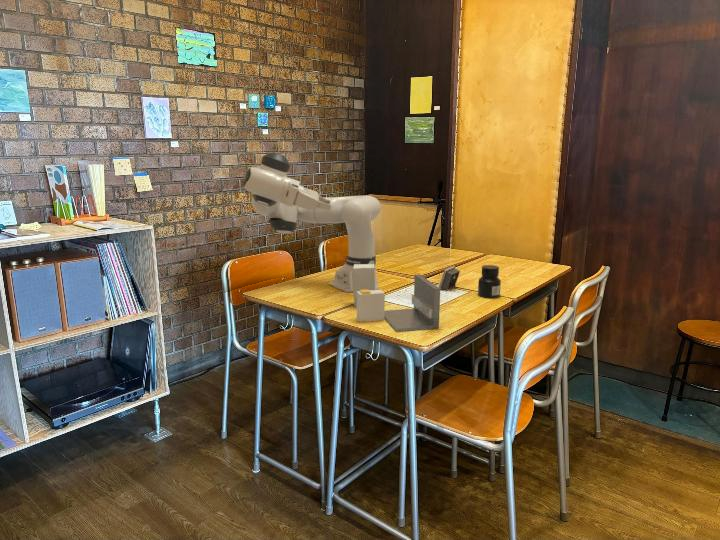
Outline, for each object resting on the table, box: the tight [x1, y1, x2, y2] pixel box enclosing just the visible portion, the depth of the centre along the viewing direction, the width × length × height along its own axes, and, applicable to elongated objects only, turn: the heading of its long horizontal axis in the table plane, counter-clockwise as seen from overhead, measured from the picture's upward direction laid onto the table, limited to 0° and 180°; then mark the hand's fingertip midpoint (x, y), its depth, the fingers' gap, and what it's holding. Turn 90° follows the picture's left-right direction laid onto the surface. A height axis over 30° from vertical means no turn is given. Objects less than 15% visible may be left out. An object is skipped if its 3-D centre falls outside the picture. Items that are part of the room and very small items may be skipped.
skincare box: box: [353, 264, 376, 308], centre depth 210 cm, size 8×7×16 cm
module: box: [356, 289, 386, 323], centre depth 194 cm, size 9×4×11 cm, turn 104°
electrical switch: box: [438, 265, 461, 291], centre depth 234 cm, size 9×5×9 cm, turn 145°
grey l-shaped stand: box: [384, 273, 441, 333], centre depth 192 cm, size 15×20×14 cm
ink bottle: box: [477, 264, 502, 299], centre depth 224 cm, size 10×9×12 cm
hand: (330, 205), depth 188 cm, fingers open, 8 cm apart
